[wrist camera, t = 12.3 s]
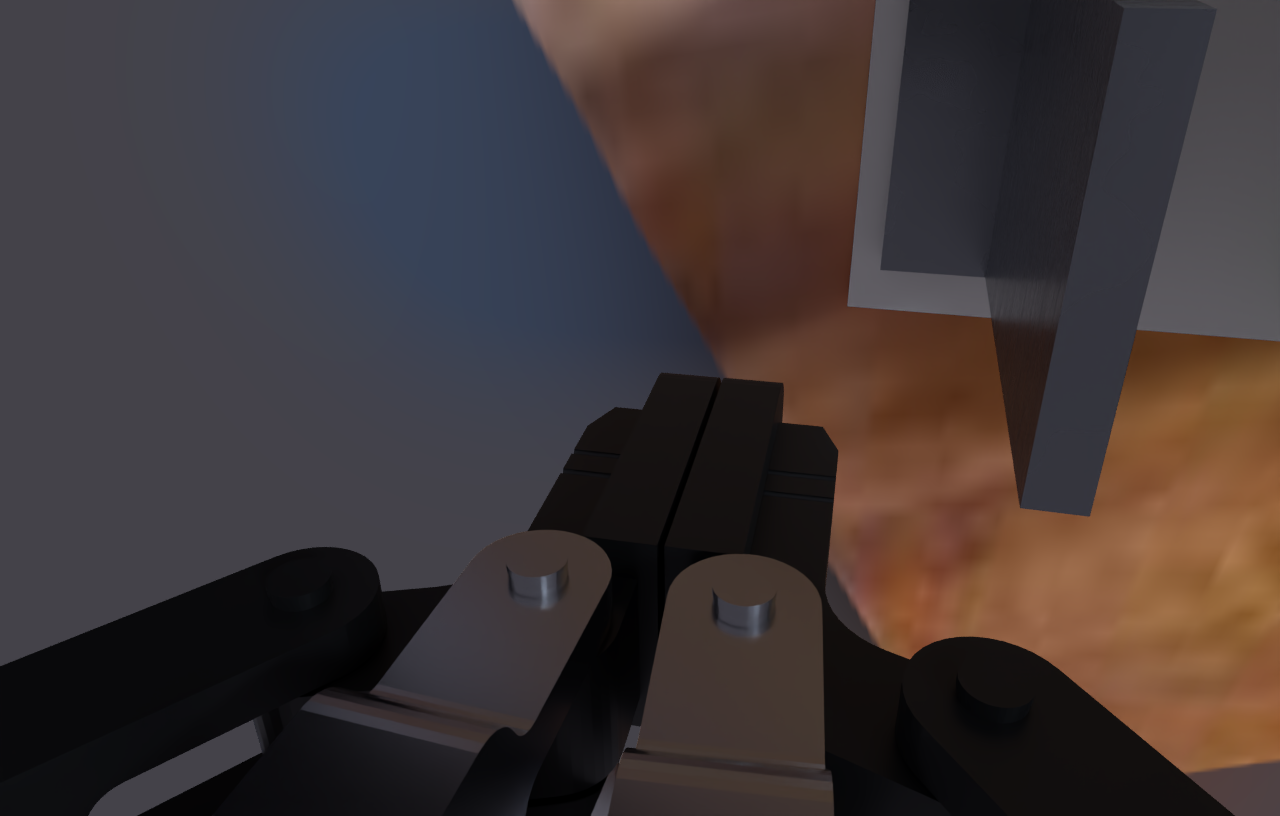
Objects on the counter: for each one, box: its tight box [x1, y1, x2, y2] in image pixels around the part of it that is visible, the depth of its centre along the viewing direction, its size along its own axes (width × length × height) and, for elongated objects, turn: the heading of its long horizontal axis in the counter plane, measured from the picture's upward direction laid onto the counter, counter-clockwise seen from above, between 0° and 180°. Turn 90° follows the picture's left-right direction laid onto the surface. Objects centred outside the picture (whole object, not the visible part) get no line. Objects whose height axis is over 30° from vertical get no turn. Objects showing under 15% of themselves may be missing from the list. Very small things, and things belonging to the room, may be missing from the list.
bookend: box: [880, 0, 1217, 516], centre depth 21 cm, size 4×9×13 cm, turn 1°
